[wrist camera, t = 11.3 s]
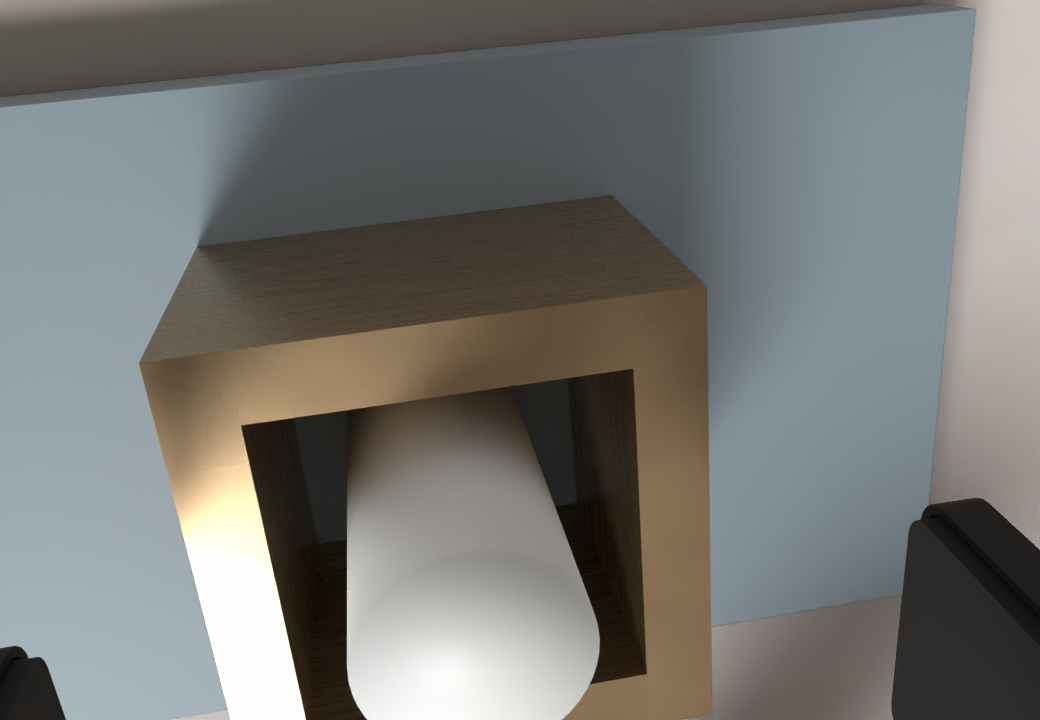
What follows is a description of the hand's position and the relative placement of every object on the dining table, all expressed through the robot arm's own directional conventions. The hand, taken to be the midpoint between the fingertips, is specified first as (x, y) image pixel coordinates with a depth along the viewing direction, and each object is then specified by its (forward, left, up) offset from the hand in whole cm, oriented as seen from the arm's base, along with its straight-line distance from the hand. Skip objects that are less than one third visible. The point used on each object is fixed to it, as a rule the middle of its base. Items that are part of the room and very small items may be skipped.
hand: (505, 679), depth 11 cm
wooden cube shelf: (0, 0, -8) cm, 8 cm away
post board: (0, 0, -9) cm, 9 cm away
